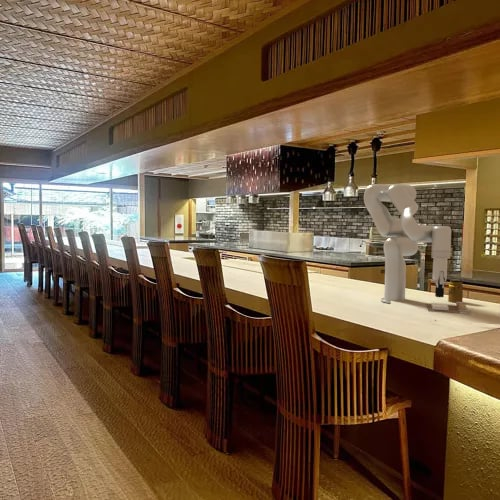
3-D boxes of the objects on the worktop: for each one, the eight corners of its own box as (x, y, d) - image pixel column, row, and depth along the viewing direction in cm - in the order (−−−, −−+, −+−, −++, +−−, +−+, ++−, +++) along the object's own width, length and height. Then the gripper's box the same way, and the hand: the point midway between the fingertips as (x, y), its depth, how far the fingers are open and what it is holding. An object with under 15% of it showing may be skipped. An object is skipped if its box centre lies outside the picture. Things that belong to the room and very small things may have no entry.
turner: (454, 305, 193) (454, 301, 193) (464, 306, 192) (464, 302, 192) (460, 313, 177) (460, 308, 177) (471, 314, 176) (471, 309, 176)
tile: (431, 303, 190) (433, 305, 184) (446, 303, 189) (448, 306, 182) (431, 306, 191) (432, 309, 184) (446, 307, 189) (448, 310, 182)
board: (424, 307, 198) (425, 303, 198) (463, 309, 193) (463, 306, 193) (428, 315, 181) (428, 311, 181) (471, 317, 176) (471, 314, 176)
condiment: (444, 303, 208) (445, 278, 207) (462, 303, 208) (463, 278, 207) (451, 306, 200) (452, 280, 200) (470, 306, 200) (471, 280, 200)
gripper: (429, 253, 196) (428, 293, 197) (433, 255, 181) (431, 299, 182) (447, 253, 193) (446, 294, 194) (452, 256, 179) (451, 300, 180)
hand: (439, 296), depth 188 cm, fingers closed
